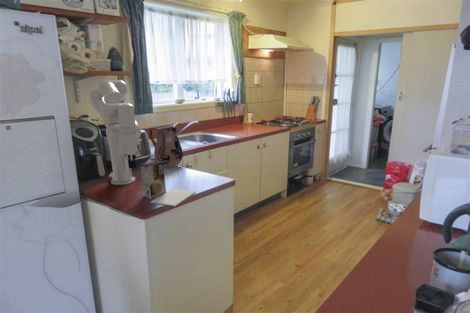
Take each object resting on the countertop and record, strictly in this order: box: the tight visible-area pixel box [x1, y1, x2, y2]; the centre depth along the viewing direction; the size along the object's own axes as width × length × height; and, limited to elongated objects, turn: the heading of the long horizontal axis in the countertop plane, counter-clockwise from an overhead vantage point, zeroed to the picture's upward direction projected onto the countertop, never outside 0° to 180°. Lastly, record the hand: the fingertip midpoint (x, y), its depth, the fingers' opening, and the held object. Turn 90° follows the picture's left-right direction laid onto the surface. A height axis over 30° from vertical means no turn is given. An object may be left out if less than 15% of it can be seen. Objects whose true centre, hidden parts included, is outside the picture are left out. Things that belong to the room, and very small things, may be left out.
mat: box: [150, 188, 197, 208], centre depth 152 cm, size 13×18×1 cm
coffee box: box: [139, 159, 167, 200], centre depth 155 cm, size 9×6×16 cm
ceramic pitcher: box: [148, 124, 184, 168], centre depth 203 cm, size 18×21×25 cm
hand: (132, 167), depth 158 cm, fingers closed
